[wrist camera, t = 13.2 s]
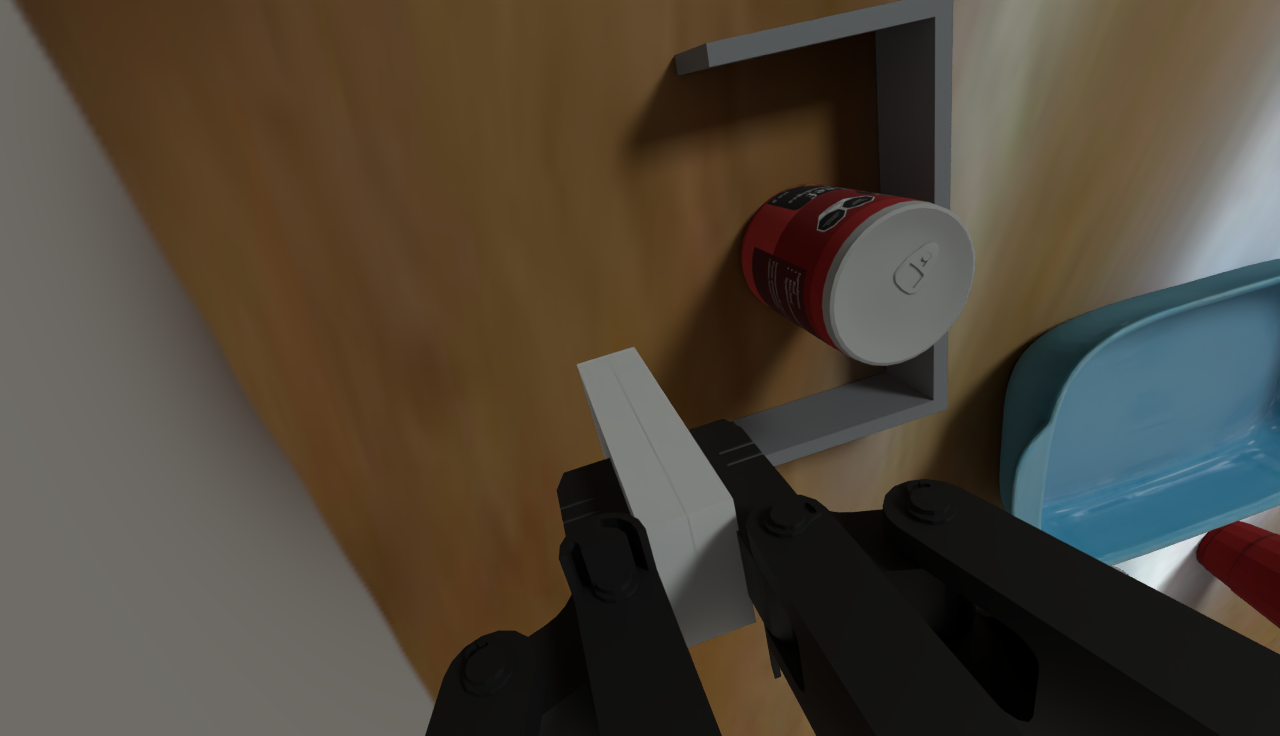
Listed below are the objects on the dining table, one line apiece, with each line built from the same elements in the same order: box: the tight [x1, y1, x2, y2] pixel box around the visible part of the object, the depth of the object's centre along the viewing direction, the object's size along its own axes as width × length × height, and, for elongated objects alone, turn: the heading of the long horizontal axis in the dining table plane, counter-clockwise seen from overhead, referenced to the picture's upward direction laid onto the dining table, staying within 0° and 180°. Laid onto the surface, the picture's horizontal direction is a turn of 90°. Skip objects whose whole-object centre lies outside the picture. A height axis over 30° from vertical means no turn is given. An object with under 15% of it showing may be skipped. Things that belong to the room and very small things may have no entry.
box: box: [674, 0, 953, 466], centre depth 35 cm, size 24×13×5 cm, turn 12°
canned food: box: [741, 184, 975, 366], centre depth 33 cm, size 8×8×11 cm
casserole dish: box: [999, 259, 1280, 566], centre depth 47 cm, size 37×22×7 cm, turn 101°
